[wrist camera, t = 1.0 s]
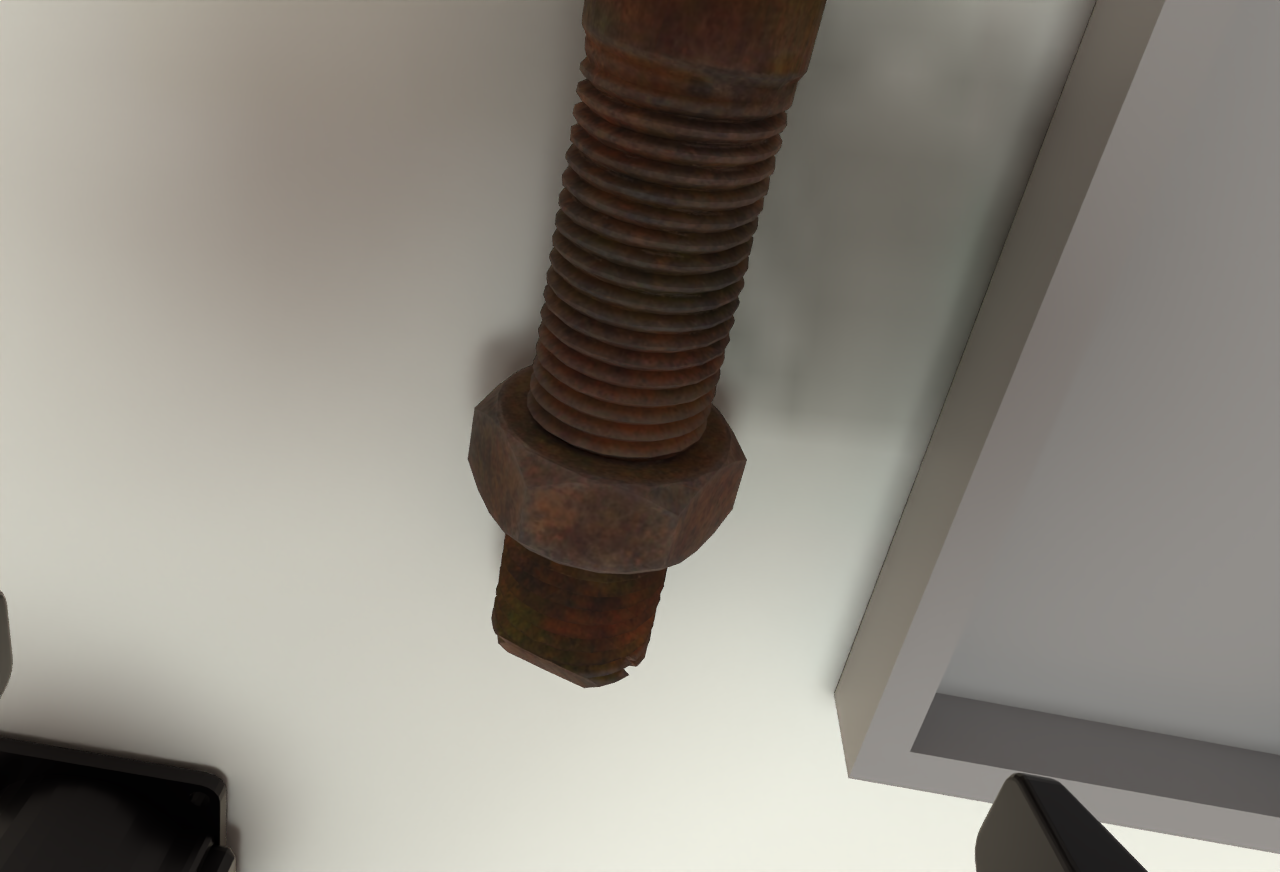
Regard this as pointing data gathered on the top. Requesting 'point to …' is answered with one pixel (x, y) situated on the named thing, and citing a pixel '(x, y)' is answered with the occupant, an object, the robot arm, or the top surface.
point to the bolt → (636, 325)
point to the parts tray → (1108, 462)
